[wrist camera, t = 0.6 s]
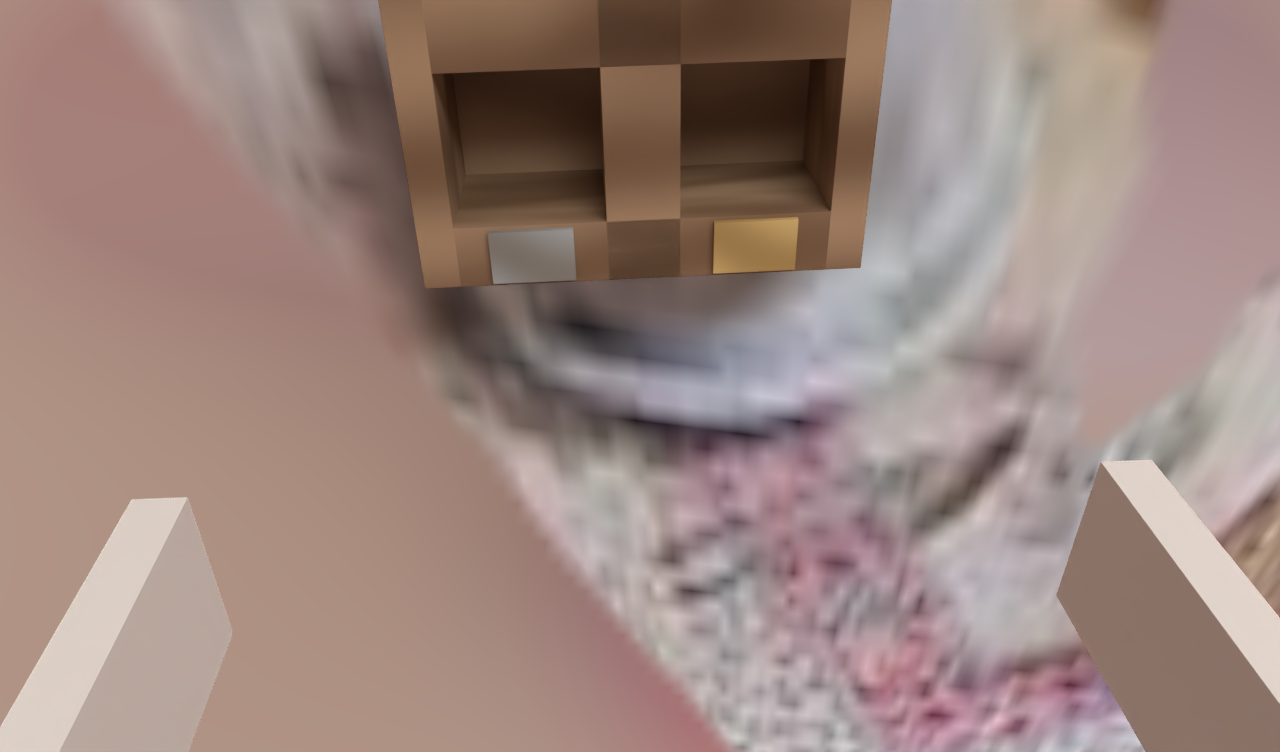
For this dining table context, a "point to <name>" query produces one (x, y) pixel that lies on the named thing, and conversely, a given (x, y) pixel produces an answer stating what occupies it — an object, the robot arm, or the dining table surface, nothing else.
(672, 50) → the socket block
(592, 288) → the dining table surface
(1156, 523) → the robot arm
